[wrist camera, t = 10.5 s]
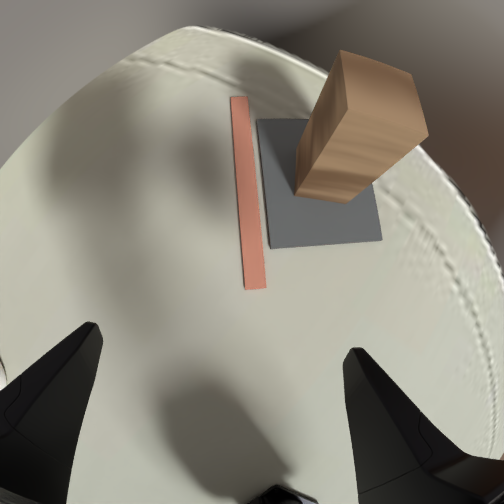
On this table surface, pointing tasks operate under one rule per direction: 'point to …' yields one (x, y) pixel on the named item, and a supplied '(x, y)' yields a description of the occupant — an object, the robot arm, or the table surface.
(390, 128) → the walnut block
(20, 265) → the table surface
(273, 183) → the mat
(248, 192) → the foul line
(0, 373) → the drinking glass
